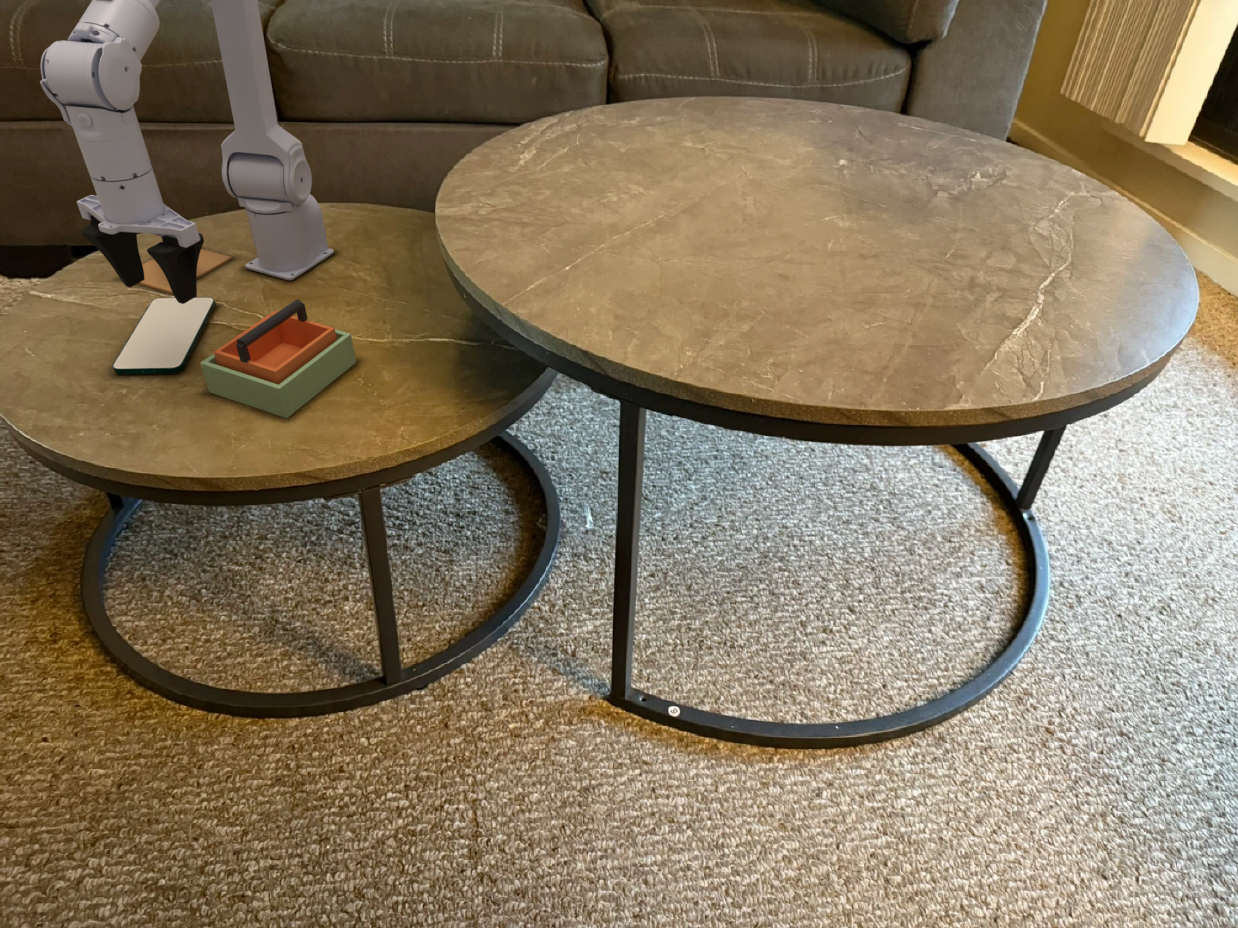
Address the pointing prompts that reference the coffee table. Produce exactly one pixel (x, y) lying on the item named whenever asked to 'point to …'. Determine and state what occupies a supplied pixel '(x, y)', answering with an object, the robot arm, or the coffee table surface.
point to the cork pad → (205, 265)
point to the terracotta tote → (276, 345)
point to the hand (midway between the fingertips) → (161, 291)
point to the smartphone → (164, 336)
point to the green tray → (292, 389)
